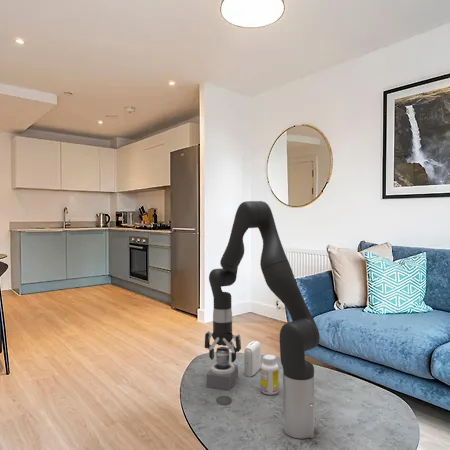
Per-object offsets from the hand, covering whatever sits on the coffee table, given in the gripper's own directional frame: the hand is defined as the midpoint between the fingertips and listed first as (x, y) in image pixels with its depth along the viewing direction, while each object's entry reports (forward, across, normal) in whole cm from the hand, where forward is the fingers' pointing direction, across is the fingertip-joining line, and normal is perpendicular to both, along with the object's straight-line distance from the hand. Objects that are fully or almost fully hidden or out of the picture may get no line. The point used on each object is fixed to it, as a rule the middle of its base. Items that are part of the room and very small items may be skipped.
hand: (222, 360), depth 143 cm
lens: (+4, 0, 0) cm, 4 cm away
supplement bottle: (+9, +19, -2) cm, 21 cm away
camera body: (+9, 0, 0) cm, 9 cm away
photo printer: (+9, +9, +13) cm, 18 cm away
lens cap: (+9, +5, -14) cm, 17 cm away
